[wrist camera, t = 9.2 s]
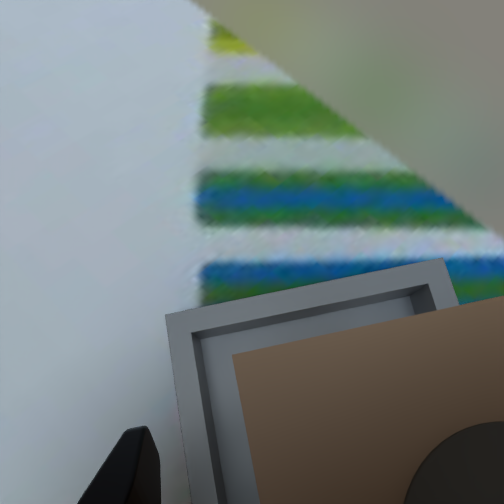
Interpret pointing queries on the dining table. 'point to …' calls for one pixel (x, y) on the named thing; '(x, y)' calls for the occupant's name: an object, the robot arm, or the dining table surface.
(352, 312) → the tray
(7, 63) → the dining table surface
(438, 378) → the block
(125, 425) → the dining table surface
